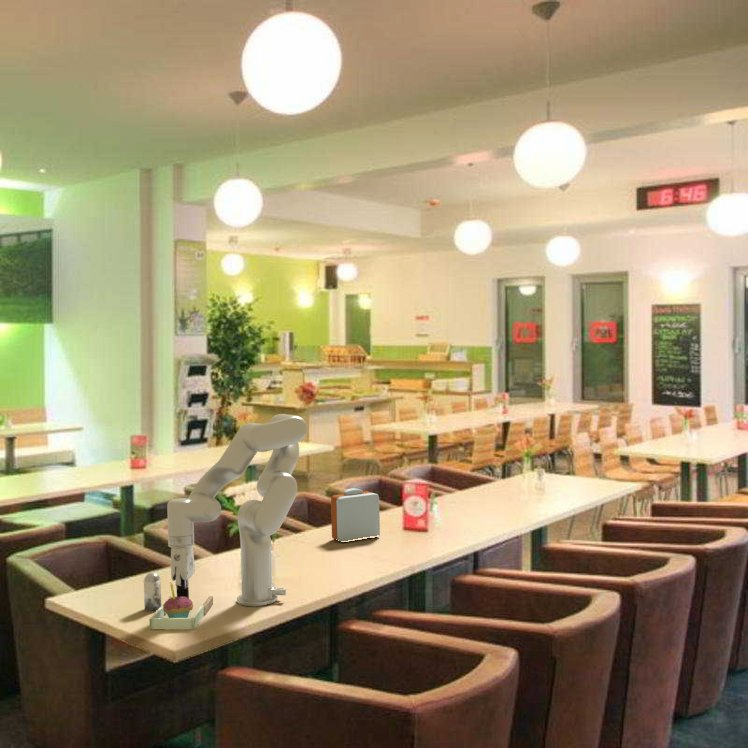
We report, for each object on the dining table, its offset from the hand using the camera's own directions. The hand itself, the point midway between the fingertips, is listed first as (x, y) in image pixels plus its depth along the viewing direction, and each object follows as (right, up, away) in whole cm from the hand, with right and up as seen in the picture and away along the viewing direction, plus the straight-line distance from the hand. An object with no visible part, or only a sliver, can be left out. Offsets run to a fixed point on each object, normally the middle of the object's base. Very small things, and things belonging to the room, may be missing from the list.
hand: (182, 601), depth 248 cm
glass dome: (-11, -4, +6) cm, 13 cm away
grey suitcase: (+50, 0, +94) cm, 106 cm away
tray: (0, -4, -7) cm, 8 cm away
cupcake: (0, -5, -6) cm, 7 cm away
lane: (0, -4, +5) cm, 6 cm away
